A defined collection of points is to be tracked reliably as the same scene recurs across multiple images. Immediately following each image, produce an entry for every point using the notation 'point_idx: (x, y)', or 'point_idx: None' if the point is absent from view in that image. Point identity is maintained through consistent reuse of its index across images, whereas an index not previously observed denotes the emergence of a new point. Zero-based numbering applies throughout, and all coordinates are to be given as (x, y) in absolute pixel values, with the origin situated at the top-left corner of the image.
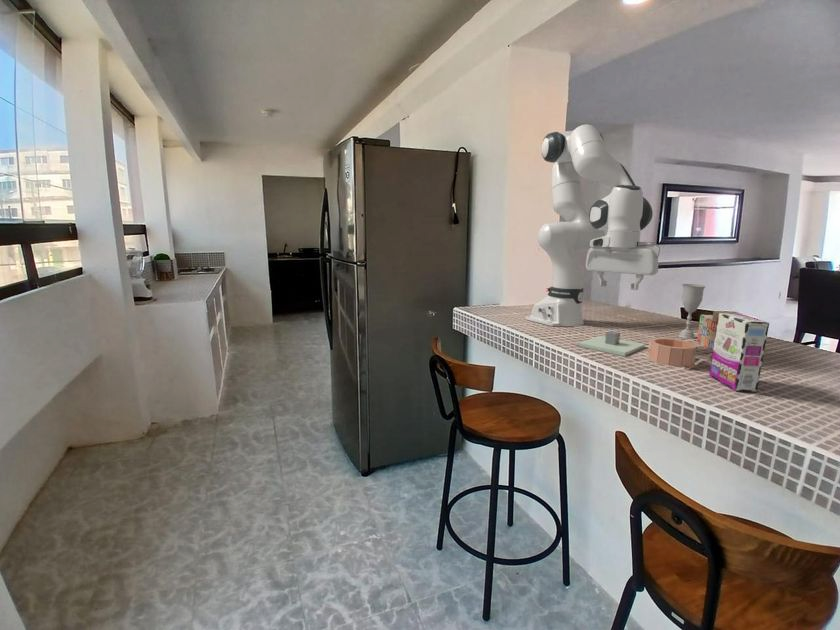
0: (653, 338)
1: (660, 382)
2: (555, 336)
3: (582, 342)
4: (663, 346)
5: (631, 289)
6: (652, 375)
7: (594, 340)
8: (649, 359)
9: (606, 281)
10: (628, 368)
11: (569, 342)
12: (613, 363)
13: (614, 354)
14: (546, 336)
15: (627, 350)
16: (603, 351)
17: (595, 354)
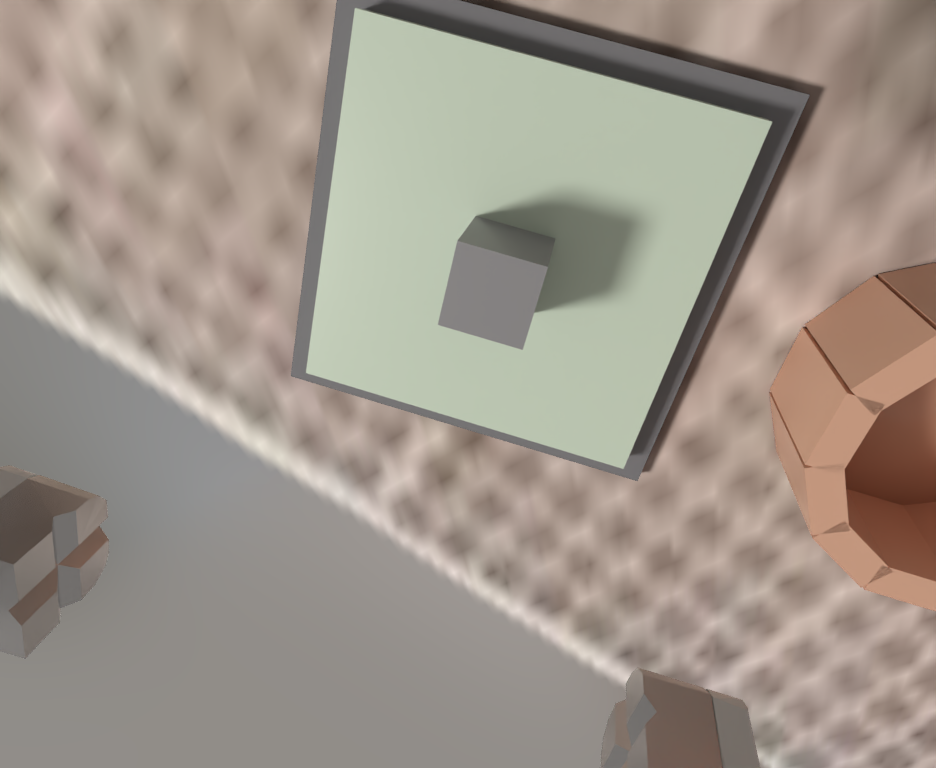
0: (846, 396)
1: (804, 735)
2: (50, 118)
3: (319, 356)
4: (891, 596)
5: (617, 725)
6: (775, 668)
7: (366, 242)
8: (780, 459)
9: (26, 570)
10: (658, 616)
11: (213, 249)
12: (576, 571)
13: (559, 453)
14: (11, 165)
15: (634, 409)
16: None
17: (451, 454)
